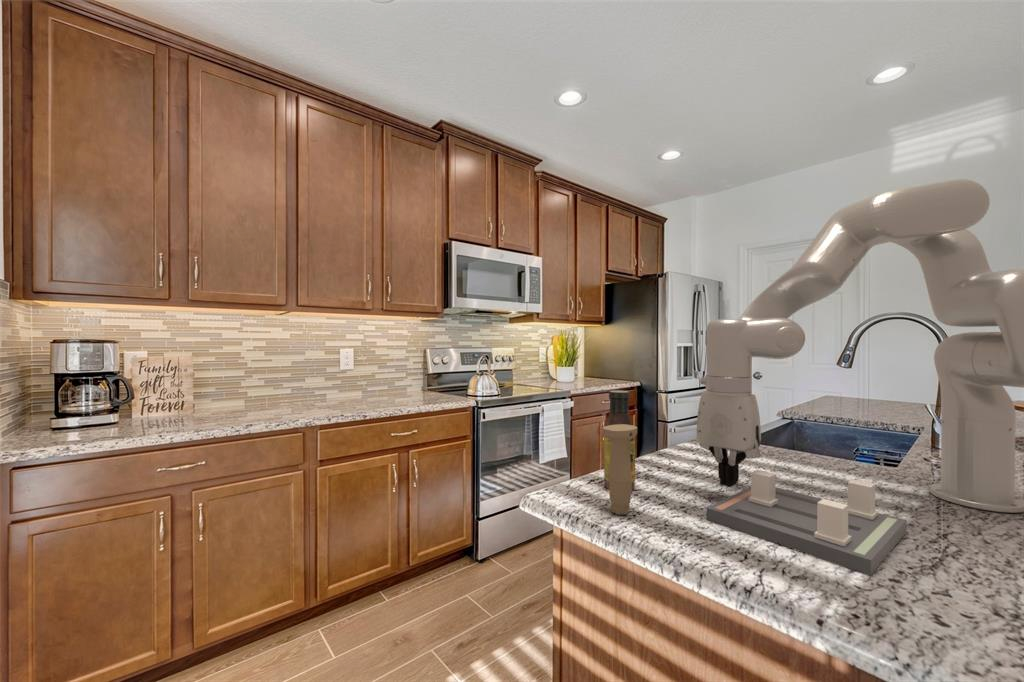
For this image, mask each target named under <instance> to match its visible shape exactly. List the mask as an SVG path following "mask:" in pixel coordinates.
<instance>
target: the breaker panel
mask: <svg viewBox="0 0 1024 682" xmlns="http://www.w3.org/2000/svg"><path fill="white" fill-rule="evenodd" d="M750 496H751V486H749V487H747V488H744V489H743V490H741V491H738V492H736V493H734V494H732V495H730V496H728V497H726V498H724V499H722V500H720V501H717V502H715V503H713V504H711V505H709V506H708V507H706V510H705V511H706V521H710V522H713V523H715V522H716V523H715V524H718V523H719V525H721V524H722V526H725V527H727V528H730V529H733V530H737V531H739V532H742V533H745V534H748V535H751V536H754V537H757V538H760V539H763V540H765V539H766V540H765V541H768V540H770V541H769V542H771V541H773V542H772V543H774V542H776V543H775V544H777V543H779V544H778V545H780V544H781V545H780V546H783V545H784V546H783V547H785V548H788V547H789V549H791V548H792V550H794V549H796V550H795V551H797V550H799V551H798V552H800V551H803V552H806V553H808V554H807V555H809V554H811V555H810V556H812V555H813V556H812V557H815V556H816V557H815V558H818V557H819V558H818V559H821V560H824V561H827V562H829V561H830V563H833V564H835V565H838V564H839V566H841V565H842V567H845V568H847V567H848V568H847V569H851V570H853V571H857V572H858V573H862V574H864V573H865V575H867V574H868V576H870V575H871V574H872V573H873V572H876V570H877V569H878V568H879V567H878V565H879V564H880V563H881V562H882V561H883V562H884V560H885V559H886V558H887V557H888V556H887V555H889V554H890V553H891V552H892V551H893V550H894V548H895V547H896V546H897V545H898V544H899V542H900V541H901V540H902V539H903V537H904V536H905V535H906V534H905V533H906V532H908V531H907V529H908V528H907V525H908V523H907V519H904V518H901V517H897V516H892V515H890V514H889V515H888V514H885V513H880V512H878V516H877V517H876V518H874V519H873V520H871V519H867V518H863V517H859V516H856V515H852V514H848V535H849V536H851V541H850V542H849V543H848V544H847V545H846V546H845V547H844V546H841V545H838V544H834V543H831V542H828V541H825V540H822V539H818V538H815V537H814V533H815V532H816V531H817V503H818V502H819V501H821V500H822V499H823V498H820V497H816V496H812V495H808V494H805V493H801V492H800V493H799V492H797V491H792V490H789V489H788V490H787V489H784V488H781V487H776V486H775V499H778V503H777V504H775V505H774V506H772V507H768V506H765V505H761V504H758V503H754V502H751V501H749V497H750ZM901 538H902V539H901ZM900 539H901V540H900ZM899 540H900V541H899ZM898 541H899V542H898ZM897 543H898V544H897ZM896 544H897V545H896ZM895 545H896V546H895ZM894 546H895V547H894ZM893 547H894V548H893ZM892 549H893V550H892ZM891 550H892V551H891ZM890 551H891V552H890ZM803 552H802V553H803ZM889 552H890V553H889ZM806 553H805V554H806ZM888 553H889V554H888ZM886 556H887V557H886ZM885 557H886V558H885ZM884 558H885V559H884ZM883 559H884V560H883ZM883 562H882V563H883ZM882 563H881V564H882ZM881 564H880V565H881ZM880 565H879V566H880ZM877 567H878V568H877ZM876 568H877V569H876ZM873 574H874V573H873ZM873 574H872V575H873ZM872 575H871V576H872Z"/></svg>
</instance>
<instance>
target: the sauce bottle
mask: <svg viewBox="0 0 1024 682" xmlns="http://www.w3.org/2000/svg"><path fill="white" fill-rule="evenodd" d="M608 399H609V414H608V416H607V417H606V419H605V422H604V426H603V427H605V426H609V425H617V424H626V425H632V426H634V424H633V423H634V422H633V421H632V418H631V415H630V409H629V399H630V392H629V391H628V390H619V389H618V390H609V391H608ZM610 448H611V443H610V439H608V438H607V437H605V436H604V435H603V471H604V472H603V473H604V474H603V478H604V486H605V487H606V488H607V489H608V490H609V467H610ZM630 462H631V478H632V487H631V488H632V490H631V491H633V490H634V489H635V485H636V482H635V481H636V436H635V437H634V438H632V439H631V440H630Z"/></svg>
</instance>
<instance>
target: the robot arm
mask: <svg viewBox="0 0 1024 682" xmlns="http://www.w3.org/2000/svg"><path fill="white" fill-rule="evenodd" d="M990 200H991V199H990V196H989V193H988V192H987V190H986V188H985V187H984V186H983V185H982V184H980V183H979V182H977V181H973V180H971V179H968V178H967V179H965V178H957V179H949V180H945V181H944V180H943V181H939V182H938V181H937V182H933V183H927V184H921V185H917V186H916V185H915V186H910V187H903V188H899V189H893V190H888V191H885V192H880V193H878V194H874V195H872V196H869V197H867V198H864V199H861V200H859V201H856V202H853V203H851V204H849V205H846V206H844V207H842V208H840V209H838V210H837V211H836V212H835V213H833V214H832V216H831V217H830V218H829V219H828V220H827V221H826V223H825V225H823V227H822V228H821V229H820V231H819V232H818V233H817V235H816V236H815V237H814V238H813V240H812V241H811V242H810V244H809V245H808V247H807V248H805V250H804V252H803V253H802V254H801V256H799V258H798V260H797V261H796V262H795V263H794V264H793V265H792V266H791V267H790V268H789V269H788V270H786V272H784V273H783V274H781V275H780V276H779V277H778V278H777V279H776V280H775V281H773V283H771V284H770V285H769V286H768V287H766V288H765V289H764V290H763V291H762V292H761V293H760V294H759V295H757V296H756V297H755V298H754V300H753V301H752V302H751V303H750V304H749V305H748V306H747V308H746V309H745V310H744V312H743V313H742V314H741V316H740V317H739V318H727V319H726V318H725V319H713V320H711V321H709V322H708V323H707V326H706V375H705V377H700V380H699V383H700V384H701V385H704V386H705V389H706V390H703V391H701V395H700V399H699V404H698V408H697V409H698V411H697V418H696V440H697V441H698V442H699V447H700V448H702V449H704V450H707V451H709V452H710V453H711V455H712V456H713V457H714V461H715V462H716V463H717V464H718V466H717V467H718V468H717V469H718V475H717V476H718V479H719V484H720V486H726V488H727V487H728V488H731V487H732V486H733V487H734V486H735V485H737V483H738V482H739V478H740V477H739V475H740V468H739V467H740V466H739V465H740V464H741V463H742V462H743V461H744V460H746V459H747V460H748V459H750V460H751V459H758V458H760V457H761V452H760V447H761V443H762V441H761V440H762V430H761V418H760V410H759V406H758V399H757V397H756V394H755V393H754V394H753V392H752V391H753V390H752V389H753V383H752V382H753V379H752V375H753V372H752V371H753V370H752V369H753V362H752V361H753V358H762V359H768V360H769V359H772V360H783V359H788V358H791V357H793V356H795V355H797V354H798V353H799V352H800V351H801V350H802V349H803V347H804V345H805V343H806V342H805V341H806V335H805V334H806V333H805V331H804V329H803V327H802V326H801V325H800V324H798V322H796V321H795V320H791V319H790V317H791V316H792V315H794V314H795V313H797V312H799V311H800V310H802V309H803V308H805V307H808V306H810V305H812V304H814V303H816V302H819V301H821V300H823V299H824V298H827V297H828V296H831V295H832V294H834V293H835V292H837V291H838V290H839V289H841V288H842V286H843V285H844V284H845V282H846V281H847V279H848V278H849V277H850V275H852V273H853V271H854V270H855V268H857V266H858V265H859V264H860V262H861V261H862V260H863V258H864V257H865V256H867V253H868V252H869V251H870V250H871V249H872V248H873V247H876V246H878V245H882V244H886V243H893V244H895V245H897V246H900V247H902V248H904V249H906V250H907V251H908V252H910V253H911V254H912V255H913V256H914V257H915V258H916V259H917V260H918V262H919V264H920V267H921V270H922V273H923V277H924V281H925V285H926V288H927V289H926V291H927V293H928V297H929V301H930V305H931V309H932V311H933V314H934V317H935V318H936V320H938V322H940V323H941V324H944V325H946V326H950V327H957V328H958V327H961V328H965V327H966V328H968V327H969V328H973V327H974V328H976V327H977V328H978V327H979V328H981V327H984V328H985V327H998V328H999V331H973V332H962V333H957V334H953V335H950V336H948V337H946V338H944V339H942V341H940V343H939V344H938V345H937V346H936V348H935V350H934V356H933V360H934V366H935V367H934V368H935V370H936V373H937V376H938V377H937V378H938V381H939V388H940V404H941V407H940V409H941V411H940V412H941V416H940V417H941V419H940V422H941V423H940V425H941V426H940V433H941V434H940V440H941V441H940V482H938V483H932V484H931V485H929V492H930V494H932V496H935V497H937V498H938V499H941V500H944V501H947V502H949V503H952V504H956V505H960V506H964V507H968V508H973V509H977V510H978V509H979V510H983V511H991V512H999V513H1011V514H1012V513H1013V514H1014V513H1024V499H1023V498H1020V497H1018V496H1016V418H1017V416H1016V408H1015V404H1014V401H1013V399H1012V398H1011V396H1010V394H1009V393H1008V392H1007V390H1006V389H1005V387H1014V388H1024V269H1010V270H1009V269H1007V270H1000V271H992V269H991V268H990V265H989V262H988V259H987V256H986V253H985V250H984V246H983V245H982V243H981V241H980V240H979V239H978V237H977V236H976V235H975V234H973V232H972V231H970V230H969V228H971V227H973V226H975V225H976V224H978V223H980V221H981V220H983V218H984V217H985V215H986V214H987V212H988V211H989V207H990V203H991V201H990Z"/></svg>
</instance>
